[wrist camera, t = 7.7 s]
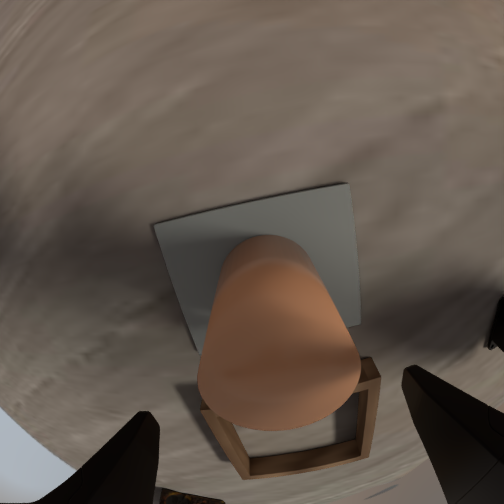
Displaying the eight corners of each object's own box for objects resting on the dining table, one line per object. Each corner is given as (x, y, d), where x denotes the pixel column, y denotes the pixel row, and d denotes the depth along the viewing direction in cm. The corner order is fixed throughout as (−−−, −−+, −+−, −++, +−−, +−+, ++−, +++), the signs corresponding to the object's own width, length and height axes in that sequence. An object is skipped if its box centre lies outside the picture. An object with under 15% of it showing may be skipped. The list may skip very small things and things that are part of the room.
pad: (346, 182, 16) (349, 183, 16) (359, 321, 20) (361, 323, 19) (155, 223, 17) (153, 225, 17) (200, 351, 20) (199, 355, 20)
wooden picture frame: (371, 356, 21) (381, 376, 18) (363, 440, 25) (368, 457, 23) (204, 388, 22) (200, 410, 19) (243, 462, 26) (242, 479, 24)
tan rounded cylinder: (307, 225, 17) (360, 298, 8) (322, 333, 19) (356, 435, 11) (208, 246, 17) (172, 335, 9) (239, 350, 20) (235, 456, 11)
